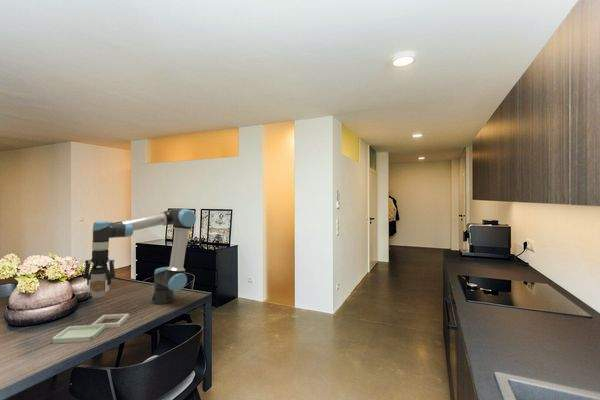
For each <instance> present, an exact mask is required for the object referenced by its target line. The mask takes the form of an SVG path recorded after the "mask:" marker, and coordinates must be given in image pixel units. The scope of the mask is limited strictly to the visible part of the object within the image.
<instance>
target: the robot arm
mask: <svg viewBox="0 0 600 400" xmlns="http://www.w3.org/2000/svg"><path fill="white" fill-rule="evenodd" d="M196 221H197V217H196V213H195V212H194V211H193V210H191V209H187V208H174V209H169V210H166V211H160V212H159V213H157V214H153V215H147V216H142V217H135V218H130V219H126V220H120V221H116V222H112V221H111V222H110V221H108V220H107V221H106V220H105V221H104V220H98V221H94V222H93V225H92V244H91V249H92V250H91V259H87V260H85V261H84V264H85V267H84V271H83V276H82V277H83V279H86V285H87V286H88V293H92V292H91V274H90V273H91V270H92V269H94V270H96V268H97V267H102V268H103V269H105V271H106V277H107V279H106V280H105V292H106V293H107V292H108V291H110V285H111V284H112V279H113V278H115V277H116V271H115V264H114V263H115V259H110V258H109V253H110V251H109V247H110V246H109V245H110V239H113V238H115V239H116V238H128V237H132V236H133V234H134V231H139V230H143V229H147V228H151V227H152V228H153V227H158V226H170V225H171V226H172V229H173V230H174V235H173V241H172V248H171V253H170V261H169V266H163V267H159V268H156V269H155V270H154V274H153V277H154V283H153V286H154V290H153V293H152V296H151V299H150V300H151V301H150V302H151V304H153V305H166V304H171V303H173V302H175V301H176V295H175V291H176V292H177V291H178V292H179V291H181V290H182V289H183V288H184V287H185V286H186V284H187V283H188V277H187V276H186V269H185V268H184V264H185V255H186V252H187V251H186V250H187V244H188V238H189V232H190V231H191V230H192V227H193V226H194V224H195V223H196ZM91 263H92V266H91ZM108 264H109V265H108Z"/></svg>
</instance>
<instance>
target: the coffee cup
mask: <svg viewBox="0 0 600 400" xmlns="http://www.w3.org/2000/svg"><path fill="white" fill-rule="evenodd" d="M91 269H92V268H91ZM91 269H90V271H91V273H90V272H89V273H90V274H91V292H90V293H91V297H92V298H93V299H95V298H103V297H105V296H106V294H107V292H105V280H106V279H107V277H106V271H105V269H103V268H102V267H100V266H98V267H97V268H96V270H94V269H92V270H91Z"/></svg>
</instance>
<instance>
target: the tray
mask: <svg viewBox="0 0 600 400" xmlns="http://www.w3.org/2000/svg"><path fill="white" fill-rule="evenodd" d="M106 329H107V328H106V324H102V325H91V324H88V325H85V324H83V325H73V326H71V325H70V326H67V327H66V328H65V329H63V330H62V331H60V332H59V333H57V334H56V335H54V336H53V337H52V338H50V345H56V344H69V343H84V342H86V343H88V342H93V341H94V340H95V339H96V338H98V337H99V336H100V334H102V333H103V332H104V331H105V330H106Z"/></svg>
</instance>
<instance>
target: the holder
mask: <svg viewBox="0 0 600 400" xmlns="http://www.w3.org/2000/svg"><path fill="white" fill-rule="evenodd" d="M129 318H130V313H115V314H103V315H102V316H100V317H99V318H98V319H96V320H95V321H94V322H92V323H91V324H90V325H102V324H106V329H107V328H108V329H110V328H119V327H121V326H122V325H123V323H124V322H126V321H127V320H128V319H129ZM112 319H114V320H115V319H116V320H117V319H119V320H118V321H117V322H103V321H105V320H112Z"/></svg>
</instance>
